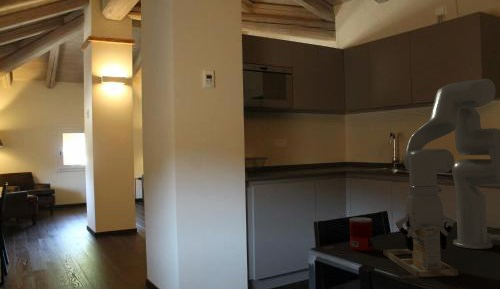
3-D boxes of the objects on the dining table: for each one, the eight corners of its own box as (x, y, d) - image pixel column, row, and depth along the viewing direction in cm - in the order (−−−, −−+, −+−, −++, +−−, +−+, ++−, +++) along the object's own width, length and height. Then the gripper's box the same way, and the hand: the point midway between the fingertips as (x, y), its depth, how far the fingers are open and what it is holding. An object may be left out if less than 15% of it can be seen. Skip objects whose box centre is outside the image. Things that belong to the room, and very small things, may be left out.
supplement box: (412, 264, 121) (410, 222, 121) (427, 264, 121) (425, 221, 122) (425, 272, 113) (424, 226, 113) (441, 272, 113) (440, 226, 113)
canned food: (374, 252, 139) (373, 220, 139) (350, 251, 140) (349, 220, 140) (372, 247, 146) (371, 217, 146) (349, 246, 148) (348, 217, 148)
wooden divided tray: (417, 253, 136) (417, 248, 136) (458, 275, 111) (458, 270, 111) (383, 254, 135) (383, 249, 135) (416, 277, 110) (416, 271, 110)
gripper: (445, 189, 122) (447, 244, 121) (390, 191, 121) (392, 247, 121) (459, 191, 114) (461, 251, 114) (400, 194, 114) (402, 253, 113)
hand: (426, 249), depth 117 cm, fingers open, 9 cm apart
